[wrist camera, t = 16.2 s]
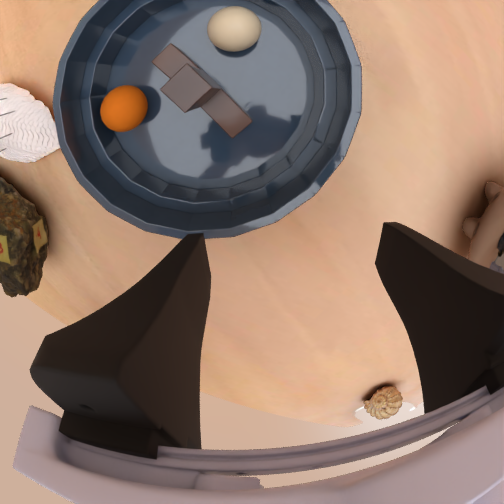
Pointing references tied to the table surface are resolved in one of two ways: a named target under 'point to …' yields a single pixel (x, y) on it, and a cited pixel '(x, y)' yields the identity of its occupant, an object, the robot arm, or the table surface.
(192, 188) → the bowl
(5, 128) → the pincushion
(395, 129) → the table surface
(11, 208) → the rock
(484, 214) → the piggy bank
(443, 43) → the table surface
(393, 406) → the seashell
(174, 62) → the brown t-shaped block
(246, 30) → the bead
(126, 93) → the bead
